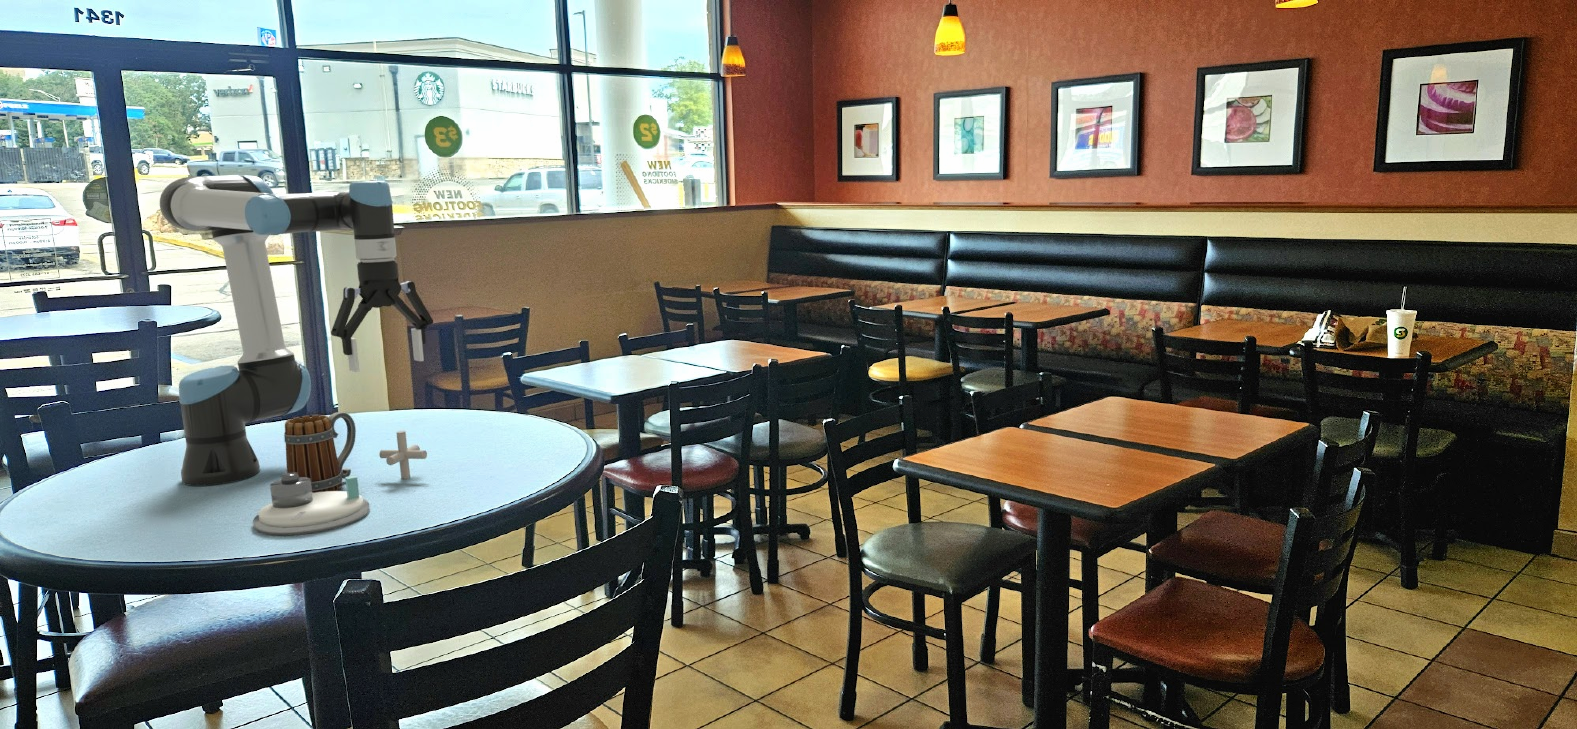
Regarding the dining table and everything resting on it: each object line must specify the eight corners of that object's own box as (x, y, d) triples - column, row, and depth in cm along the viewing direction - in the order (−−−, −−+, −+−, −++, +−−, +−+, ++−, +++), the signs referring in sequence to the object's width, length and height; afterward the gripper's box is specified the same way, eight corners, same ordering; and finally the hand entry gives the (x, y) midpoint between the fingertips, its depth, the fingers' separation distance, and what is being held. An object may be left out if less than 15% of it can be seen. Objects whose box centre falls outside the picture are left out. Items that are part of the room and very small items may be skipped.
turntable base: (229, 528, 198) (228, 522, 198) (319, 497, 216) (318, 491, 215) (305, 541, 189) (304, 534, 189) (392, 508, 207) (392, 502, 207)
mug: (308, 500, 214) (299, 427, 211) (276, 494, 219) (267, 422, 217) (374, 480, 227) (367, 410, 224) (343, 474, 232) (335, 406, 230)
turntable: (237, 520, 198) (233, 493, 197) (318, 493, 214) (315, 468, 213) (305, 531, 190) (302, 503, 189) (384, 502, 206) (381, 476, 205)
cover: (264, 506, 203) (260, 477, 202) (295, 495, 209) (292, 468, 208) (290, 510, 200) (286, 481, 199) (321, 499, 206) (317, 471, 205)
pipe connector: (414, 485, 222) (409, 437, 220) (371, 484, 224) (365, 437, 222) (439, 471, 232) (434, 426, 230) (397, 470, 234) (392, 425, 232)
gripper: (322, 266, 202) (334, 377, 205) (444, 255, 219) (453, 358, 223) (305, 264, 207) (317, 373, 211) (426, 254, 224) (435, 354, 228)
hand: (387, 365), depth 217 cm, fingers open, 13 cm apart
